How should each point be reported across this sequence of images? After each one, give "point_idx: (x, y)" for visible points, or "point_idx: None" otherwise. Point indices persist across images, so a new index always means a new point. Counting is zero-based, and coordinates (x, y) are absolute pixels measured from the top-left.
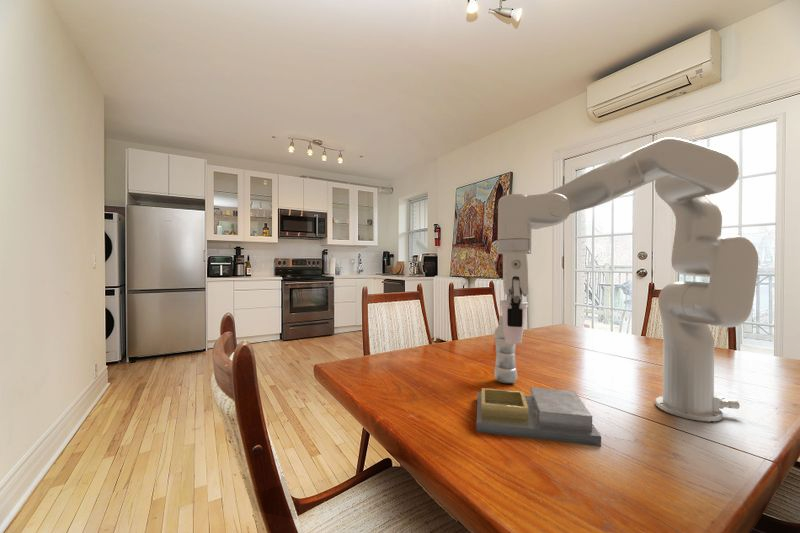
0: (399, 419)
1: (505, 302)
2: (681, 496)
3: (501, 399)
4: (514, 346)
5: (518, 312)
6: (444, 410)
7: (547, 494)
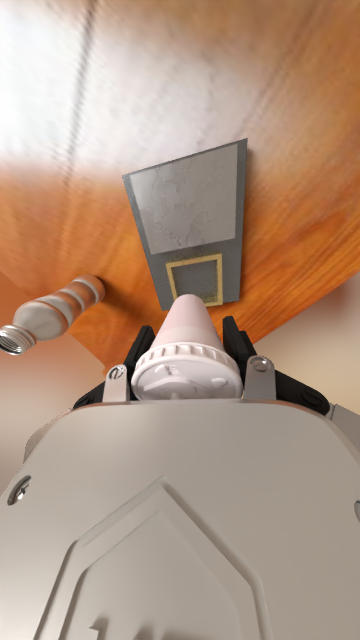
0: None
1: None
2: None
3: (176, 285)
4: (56, 296)
5: (255, 354)
6: None
7: (342, 224)
